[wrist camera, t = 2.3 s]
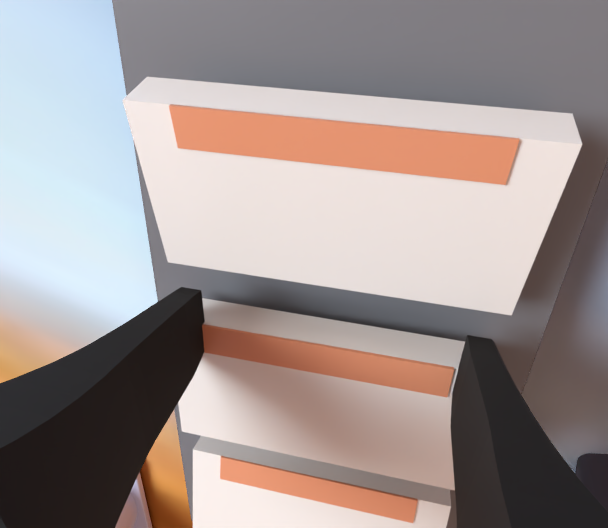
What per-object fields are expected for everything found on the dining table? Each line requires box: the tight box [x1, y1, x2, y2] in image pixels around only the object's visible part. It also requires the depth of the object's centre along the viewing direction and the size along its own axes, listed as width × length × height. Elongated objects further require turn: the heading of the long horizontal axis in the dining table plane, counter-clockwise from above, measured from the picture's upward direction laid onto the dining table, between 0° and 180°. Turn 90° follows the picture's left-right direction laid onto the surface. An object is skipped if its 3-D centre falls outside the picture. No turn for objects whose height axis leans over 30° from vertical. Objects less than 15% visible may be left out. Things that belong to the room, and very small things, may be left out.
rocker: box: [178, 298, 465, 490], centre depth 15 cm, size 5×9×1 cm, turn 88°
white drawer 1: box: [193, 436, 451, 528], centre depth 19 cm, size 5×9×1 cm, turn 89°
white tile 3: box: [123, 77, 582, 315], centre depth 12 cm, size 5×9×1 cm, turn 88°
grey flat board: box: [112, 0, 608, 528], centre depth 16 cm, size 30×12×2 cm, turn 178°
